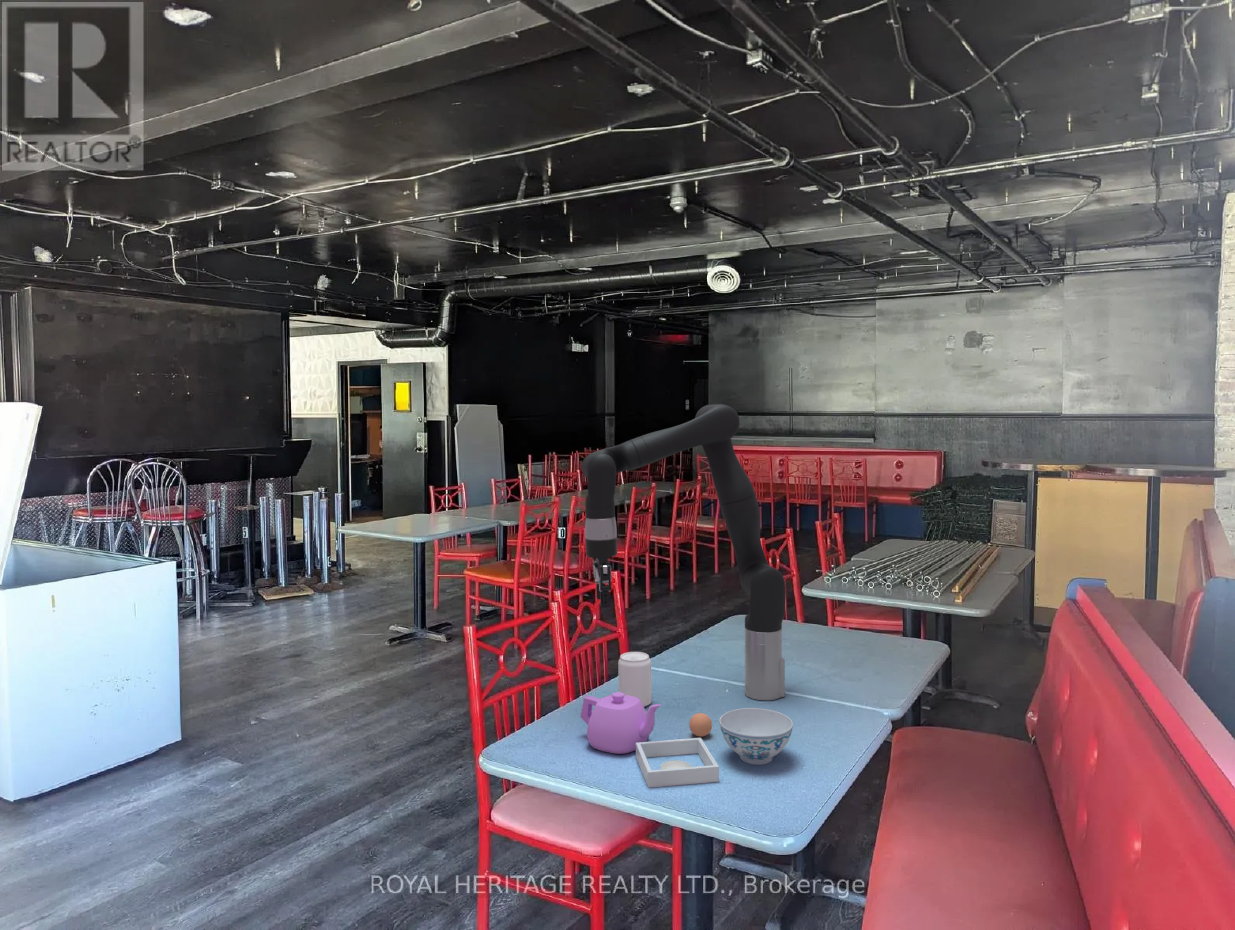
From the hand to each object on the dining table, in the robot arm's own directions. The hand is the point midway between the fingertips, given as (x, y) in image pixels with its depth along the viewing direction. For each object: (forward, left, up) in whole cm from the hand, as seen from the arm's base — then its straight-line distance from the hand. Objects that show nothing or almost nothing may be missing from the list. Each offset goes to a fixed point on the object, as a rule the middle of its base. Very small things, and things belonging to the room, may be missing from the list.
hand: (603, 602), depth 191 cm
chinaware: (-27, +32, -27) cm, 50 cm away
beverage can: (-8, -3, -27) cm, 28 cm away
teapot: (-1, +20, -27) cm, 33 cm away
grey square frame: (-10, +34, -27) cm, 44 cm away
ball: (-19, +19, -27) cm, 38 cm away
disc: (-10, +34, -27) cm, 44 cm away
